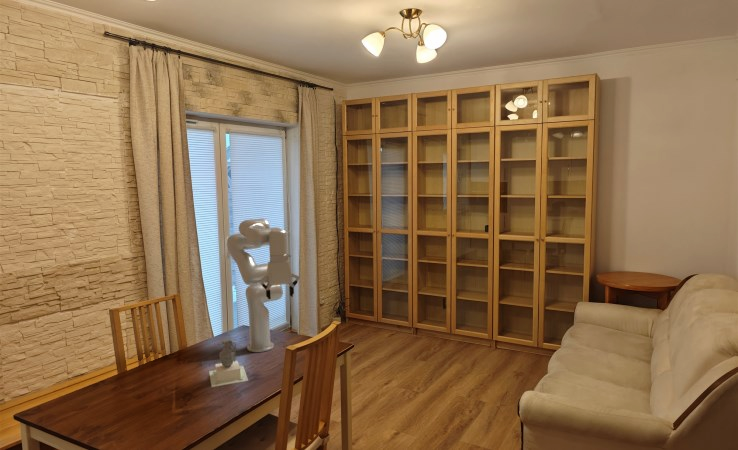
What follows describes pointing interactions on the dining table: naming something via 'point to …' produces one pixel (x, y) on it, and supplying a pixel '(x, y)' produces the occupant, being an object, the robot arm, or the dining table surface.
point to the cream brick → (228, 372)
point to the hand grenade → (227, 353)
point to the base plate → (218, 383)
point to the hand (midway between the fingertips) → (280, 297)
